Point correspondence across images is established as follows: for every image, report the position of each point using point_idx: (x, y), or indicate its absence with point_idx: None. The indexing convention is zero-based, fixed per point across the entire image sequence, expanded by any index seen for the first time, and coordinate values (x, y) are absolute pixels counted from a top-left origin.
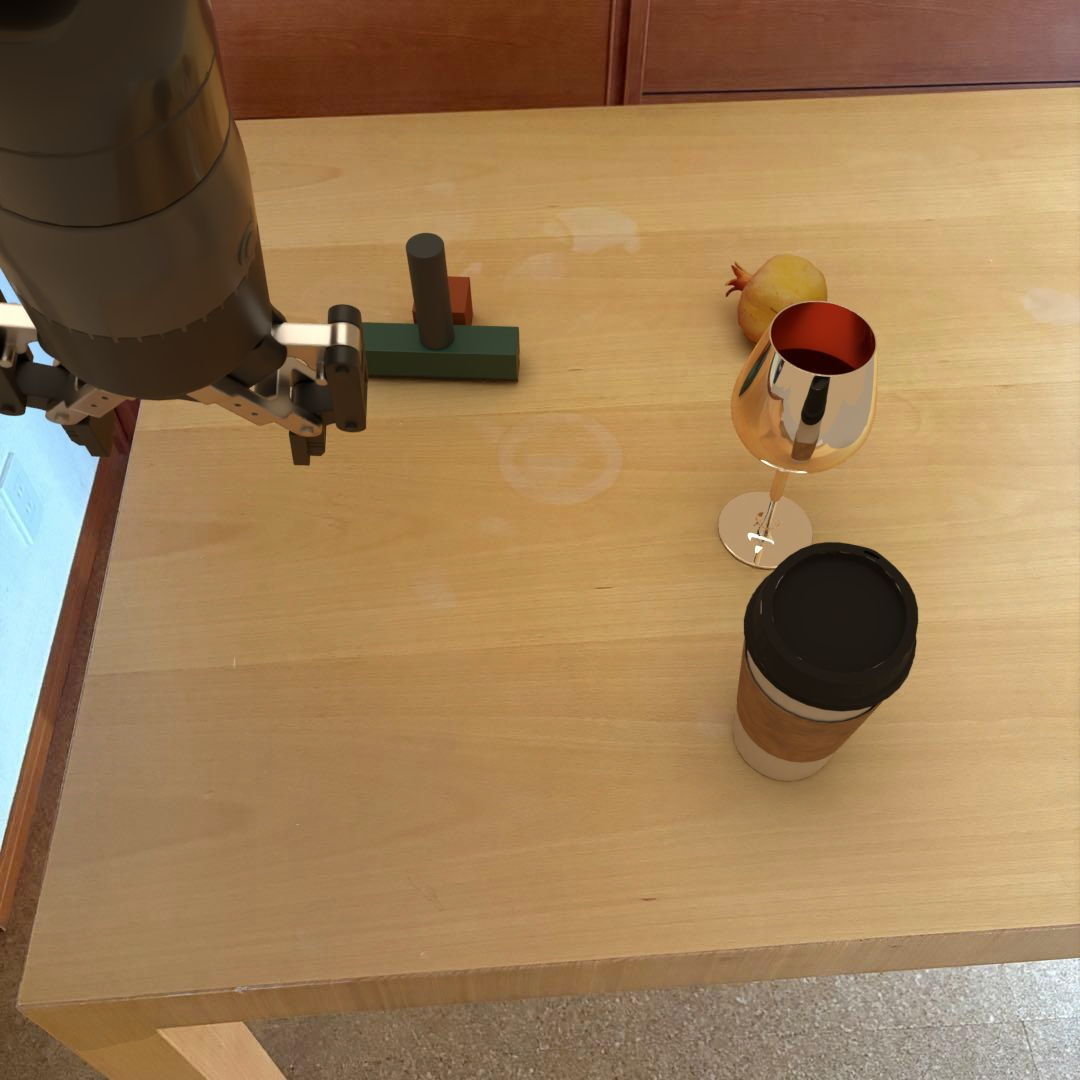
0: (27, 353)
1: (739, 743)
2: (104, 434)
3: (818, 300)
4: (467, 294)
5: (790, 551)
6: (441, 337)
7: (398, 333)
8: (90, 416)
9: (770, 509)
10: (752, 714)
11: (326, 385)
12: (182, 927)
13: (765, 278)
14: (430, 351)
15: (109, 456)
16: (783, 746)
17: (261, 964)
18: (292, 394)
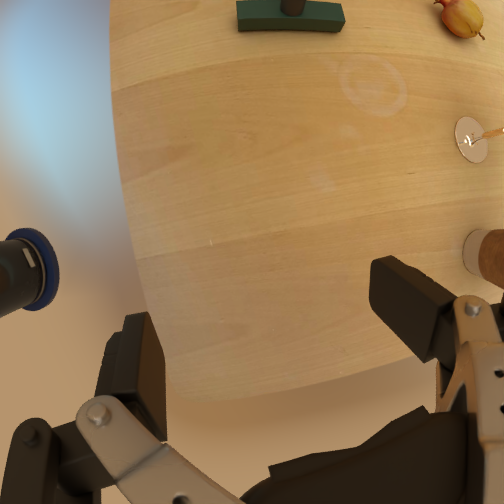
0: (54, 472)
1: (468, 264)
2: (159, 370)
3: (482, 25)
4: None
5: (481, 153)
6: (299, 10)
7: (264, 6)
8: (162, 433)
9: (483, 138)
10: (494, 278)
11: (501, 337)
12: (231, 377)
13: (464, 8)
14: (290, 17)
15: (164, 359)
16: (496, 285)
17: (271, 386)
18: (437, 316)
